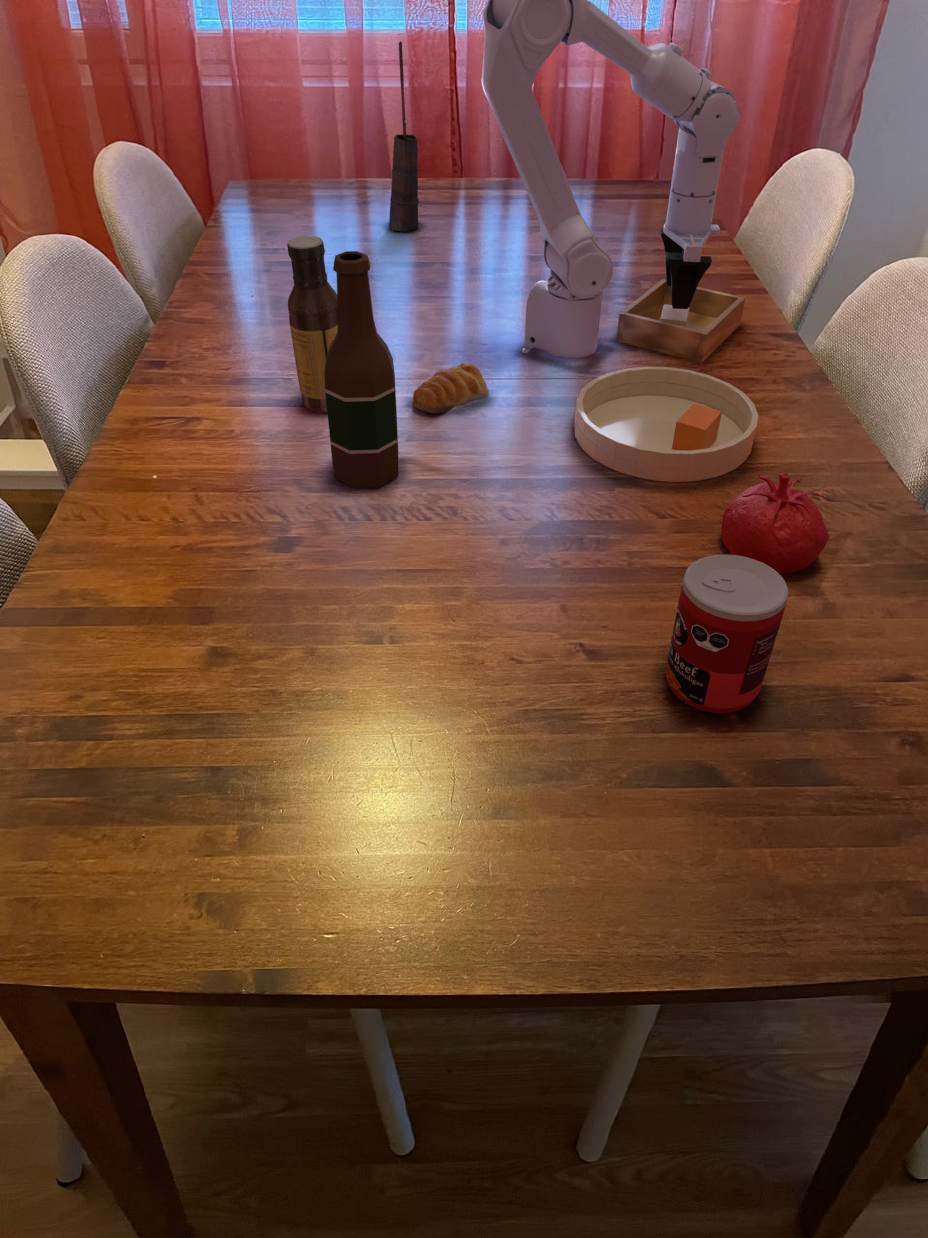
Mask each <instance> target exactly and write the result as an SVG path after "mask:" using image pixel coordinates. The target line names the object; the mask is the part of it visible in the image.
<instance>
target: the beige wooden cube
mask: <svg viewBox="0 0 928 1238" xmlns="http://www.w3.org/2000/svg"><path fill="white" fill-rule="evenodd" d="M689 308H690V307H689ZM689 308H688V309H673V308H672V305H666V304H664V307H663V311H662V315H661V318H660V321H663V322H667V323H671V324H675V325H679V326H684V327H687V320H688V314H689Z"/></svg>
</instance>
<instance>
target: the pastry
mask: <svg viewBox="0 0 928 1238" xmlns="http://www.w3.org/2000/svg"><path fill="white" fill-rule="evenodd" d="M412 394H413V395H412V406H414V407H415V408H416V409H419V410H421V411H424V412H427V413H431V414H434V415H435V414H443V413H446V412H450V411H451V410H452V409H453V408H455V407H457V406H462V405H465V404H467V403H469V402H473V401H475V400H478V399H481V398H485V397H487V396H489V388H488V386H487V383H486V380H485V379H484V376H483V373H482V372H481V370H480V369H479V368H478V367H477V366H475V365H474V364H472V363H468V364H467V363H463V362H462V363H460V364H459V365H457V366H455V367H450V368H446V369H441V370H439V371H436V372H435V373H434V375H432V376H431V377H430V378H428V379H427V380H426V381H424V382H423V383H422V384H420V385H419V386H418V387H417V388H416V389H415V390H414V391H413V393H412Z"/></svg>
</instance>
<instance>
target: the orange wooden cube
mask: <svg viewBox="0 0 928 1238" xmlns="http://www.w3.org/2000/svg"><path fill="white" fill-rule="evenodd" d="M721 415H722V411H719V410H715V409H711V408H708V407H704V406H701V405H697V404H692V406H691V407H690V408H689V409H688V410H687V411H686V412H685V413H684V414H683V415H682V416H681V417H680V418H679V419H678V420H677V421H676V426H675V432H674V438H673V444H672V449H675V450H682V451H691V450H699V449H708V448H709V447H710V446H711V444H712V443H713V442H714V441H715V440H716V439H717V435H718V430H719V425H720V420H721Z"/></svg>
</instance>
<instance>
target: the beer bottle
mask: <svg viewBox="0 0 928 1238" xmlns="http://www.w3.org/2000/svg"><path fill="white" fill-rule="evenodd" d="M370 270H371V261H370V258H369V255H368V254H366V253H363V252H361V251H358V250H349V251H348V250H346V251H343V252H341V253H338V254H336V255H334V260H333V266H332V271H334V272H335V273H336V293H337V307H338V330H337V335H336V336H335V338H334V340H333V341H332V343H331V345H330V346H329V350H328V354H327V358H326V364H325V394H326V404H327V413H326V414H327V422H328V433H329V441H330V442H329V443H330V452H331V453H330V454H331V461H332V468H333V474H334V478H335V479H336V480H338V481H339V482H341V483H343V484H345V485H347V486H349V487H351V488H353V489H369V488H370V489H374V488H376V489H377V488H380V487H383V486H384V485H386V484H388V483H389V482H391V481H393V480H394V479H396V478H398V475H399V435H398V433H399V432H398V415H397V414H398V413H397V412H398V411H397V393H396V392H397V391H396V373H395V365H394V358H393V356H392V353H391V350H390V348H389V346H388V344H387V343H386V342H385V340H384V339H383V338H382V336H381V335H380V334H379V333H378V330H377V325H376V322H375V318H374V310H373V302H372V294H371V286H370V285H371V284H370V278H369V271H370Z"/></svg>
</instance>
